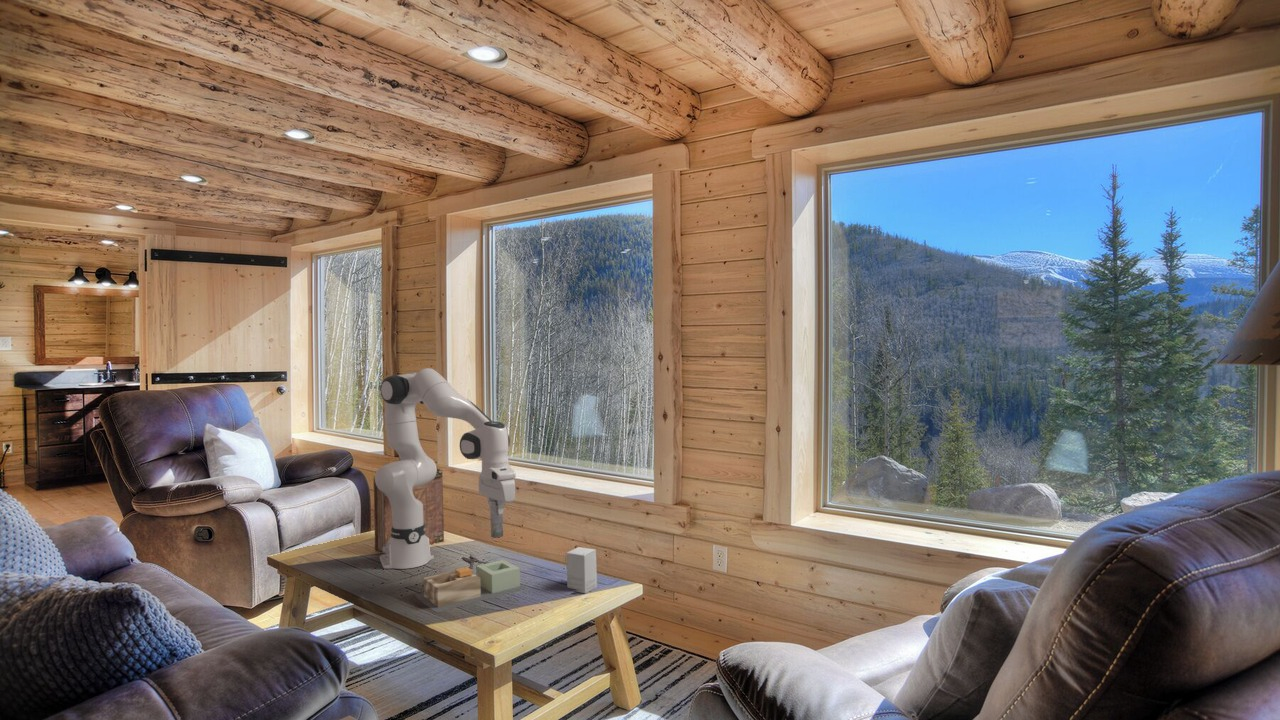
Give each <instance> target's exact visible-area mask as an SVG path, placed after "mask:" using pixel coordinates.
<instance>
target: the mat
mask: <svg viewBox="0 0 1280 720" xmlns="http://www.w3.org/2000/svg"><path fill="white" fill-rule="evenodd" d="M527 589H529V588H528V587H526V586H525V585H523V584H521V583H520V586H519V587H515V588H511V589H507V590H504V591H500V592H496V593H491V592H489V591H488V590H486V589H485V588H483V587H481V596H480V597H477V598H473V599H469V600H465V601H461V602H457V603H453V604H450V605H446V606H442V607H437V606H436V605H434V604H433V603H432V602H430V601H429V600H428V599H427V598H425V597H424V592H419V593H417V594H414V596H415V597H416V599H418V600H419V601H421V602H422V603H423V604H424V605H426V606H427V607H429V608H430V609H431V610H432V611H433V612H434V613H440V612H444V611H447V610H453V609H455V608H459V607H463V606H466V605H471V604H475V603H478V602H481V601H487V600H489V599H492V598H493V599H494V598H497V597H502V596H504V595H505V596H506V595H508V594H512V593H516V592H520V591H524V590H527Z"/></svg>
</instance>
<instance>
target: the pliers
mask: <svg viewBox="0 0 1280 720" xmlns="http://www.w3.org/2000/svg"><path fill="white" fill-rule="evenodd" d="M462 559H463V561H464V562H467V563H469V564H470V566H469V568H470V569H471V570H473V567H474V566H473V565H475V563H476V562H478V563H477V564H481V563H484V564H486V563H489V561H488V562H487V561H481V560H479V559H478V558H476V557H474V556H473V555H469V558H468V557H465V556H463V558H462ZM474 562H475V563H474Z"/></svg>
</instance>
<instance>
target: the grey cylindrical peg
mask: <svg viewBox="0 0 1280 720" xmlns="http://www.w3.org/2000/svg"><path fill="white" fill-rule="evenodd" d="M497 508H498V502H497V500H494V499H493V500H490V509H489V515H490V517H489V518H490V519H489V520H490V538H493V539H497V538H498V539H499V538H502V537H504V523H503V522H504V520H503V519H504V518H503V517H504V513H503V514H498V513H497Z"/></svg>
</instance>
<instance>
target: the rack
mask: <svg viewBox="0 0 1280 720" xmlns="http://www.w3.org/2000/svg"><path fill="white" fill-rule="evenodd" d="M475 569H476V570H475V572H476V574H475V575H477V576H478V577H480V584H481V587H483V588H485V589H486V590H488V591H489V592H491V593H496V592H500V591H504V590H507V589H511V588H515V587H519V586H520V584H521V569H520V567H519V566H516V565H515V564H513V563H511V562H509V561H507V560H505V559H500V560H496V561H492V562H488V563H486V564H478V565H476V567H475Z"/></svg>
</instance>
